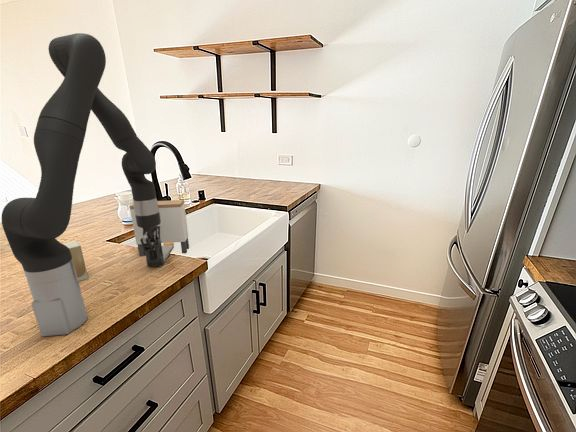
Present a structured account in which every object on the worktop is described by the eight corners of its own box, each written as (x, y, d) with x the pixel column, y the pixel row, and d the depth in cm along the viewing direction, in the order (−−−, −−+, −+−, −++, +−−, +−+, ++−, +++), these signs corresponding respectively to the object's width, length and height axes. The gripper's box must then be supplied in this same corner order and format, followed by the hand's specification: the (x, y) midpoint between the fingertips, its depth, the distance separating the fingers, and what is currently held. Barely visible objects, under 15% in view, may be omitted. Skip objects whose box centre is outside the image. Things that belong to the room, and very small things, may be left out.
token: (172, 248, 120) (171, 245, 120) (162, 248, 120) (161, 245, 120) (175, 244, 124) (174, 241, 124) (165, 244, 124) (165, 241, 124)
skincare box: (69, 276, 99) (60, 243, 95) (84, 272, 102) (76, 239, 98) (73, 283, 95) (64, 249, 91) (89, 278, 97) (80, 245, 94)
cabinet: (186, 253, 115) (180, 204, 109) (138, 256, 113) (129, 206, 107) (189, 247, 121) (183, 199, 115) (144, 249, 119) (135, 201, 113)
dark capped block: (162, 265, 105) (157, 239, 102) (147, 266, 104) (142, 240, 101) (174, 247, 120) (170, 224, 117) (161, 247, 120) (157, 224, 117)
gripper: (151, 217, 93) (159, 266, 99) (164, 205, 107) (170, 249, 112) (127, 218, 93) (136, 267, 98) (142, 206, 106) (150, 250, 111)
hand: (154, 257), depth 105 cm, fingers closed on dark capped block, 2 cm apart
